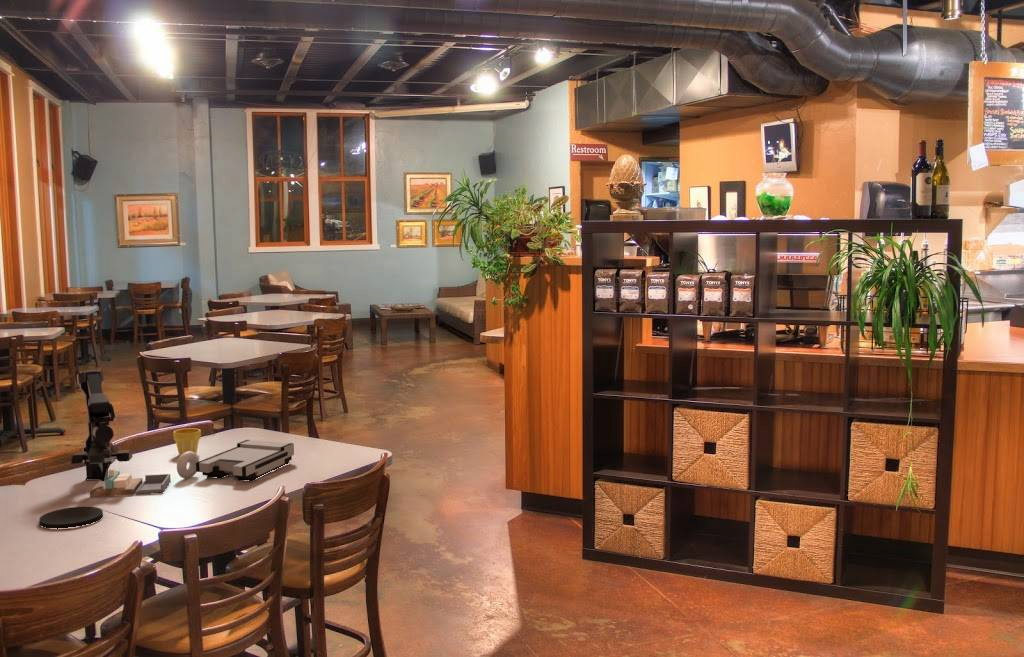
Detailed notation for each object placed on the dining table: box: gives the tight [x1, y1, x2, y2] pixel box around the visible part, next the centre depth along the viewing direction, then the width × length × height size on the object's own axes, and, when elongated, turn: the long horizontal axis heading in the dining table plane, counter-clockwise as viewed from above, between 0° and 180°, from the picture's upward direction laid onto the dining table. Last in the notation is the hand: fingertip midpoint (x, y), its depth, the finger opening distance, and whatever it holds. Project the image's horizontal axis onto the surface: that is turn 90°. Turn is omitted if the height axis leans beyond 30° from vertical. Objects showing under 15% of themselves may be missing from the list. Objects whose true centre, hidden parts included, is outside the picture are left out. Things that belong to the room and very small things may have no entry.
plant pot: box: [172, 427, 202, 457], centre depth 362 cm, size 10×10×10 cm
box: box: [134, 473, 172, 495], centre depth 315 cm, size 9×14×3 cm, turn 11°
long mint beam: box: [105, 468, 121, 489], centre depth 312 cm, size 2×12×5 cm, turn 11°
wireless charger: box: [38, 506, 104, 529], centre depth 280 cm, size 18×18×2 cm
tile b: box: [117, 473, 133, 483], centre depth 315 cm, size 4×4×2 cm
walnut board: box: [89, 477, 144, 498], centre depth 313 cm, size 14×14×2 cm
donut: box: [176, 451, 200, 480], centre depth 327 cm, size 10×4×10 cm, turn 159°
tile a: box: [113, 477, 129, 488], centre depth 310 cm, size 4×4×2 cm
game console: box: [196, 439, 295, 482], centre depth 336 cm, size 21×32×8 cm, turn 163°
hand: (103, 480), depth 312 cm, fingers closed
